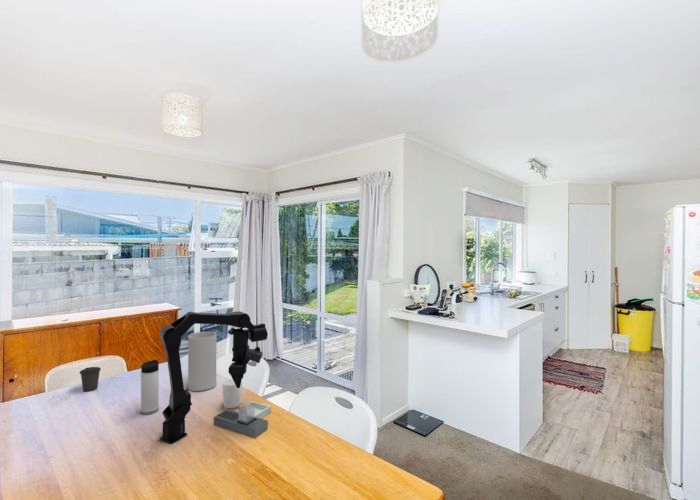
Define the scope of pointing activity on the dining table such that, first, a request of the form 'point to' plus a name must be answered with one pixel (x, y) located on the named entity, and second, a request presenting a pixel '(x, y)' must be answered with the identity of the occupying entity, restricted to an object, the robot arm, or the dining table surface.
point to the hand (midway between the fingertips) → (240, 383)
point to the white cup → (231, 394)
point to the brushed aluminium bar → (246, 414)
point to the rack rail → (231, 422)
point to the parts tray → (260, 409)
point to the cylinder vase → (202, 360)
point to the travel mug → (150, 387)
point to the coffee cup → (90, 378)
